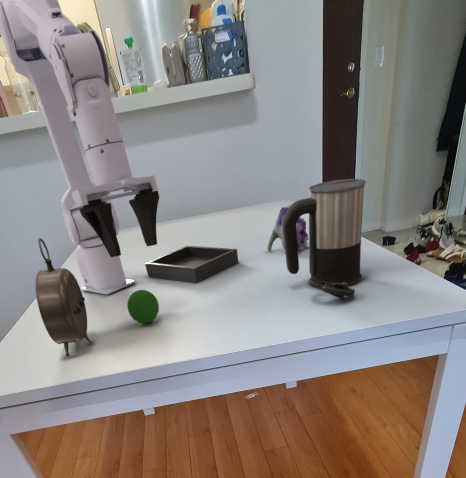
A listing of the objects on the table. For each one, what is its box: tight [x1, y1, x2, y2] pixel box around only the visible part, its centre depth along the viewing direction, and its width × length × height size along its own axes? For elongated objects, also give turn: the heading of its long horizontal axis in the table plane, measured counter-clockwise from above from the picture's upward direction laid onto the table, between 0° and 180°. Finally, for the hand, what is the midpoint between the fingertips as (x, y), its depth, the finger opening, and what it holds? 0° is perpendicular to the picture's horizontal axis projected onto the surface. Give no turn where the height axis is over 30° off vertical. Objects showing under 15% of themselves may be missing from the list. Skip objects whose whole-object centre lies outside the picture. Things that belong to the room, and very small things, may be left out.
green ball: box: [126, 289, 160, 324], centre depth 79 cm, size 5×5×5 cm
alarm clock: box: [34, 237, 93, 358], centre depth 72 cm, size 11×5×16 cm, turn 5°
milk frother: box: [283, 178, 367, 301], centre depth 76 cm, size 14×16×15 cm
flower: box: [267, 205, 309, 253], centre depth 100 cm, size 9×9×10 cm
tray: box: [144, 245, 239, 284], centre depth 101 cm, size 16×14×3 cm
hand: (134, 250), depth 74 cm, fingers open, 7 cm apart
